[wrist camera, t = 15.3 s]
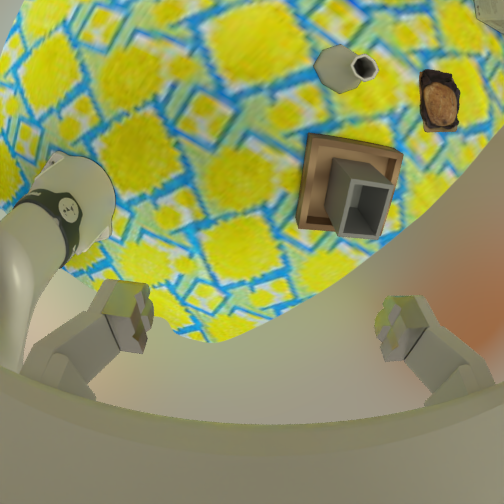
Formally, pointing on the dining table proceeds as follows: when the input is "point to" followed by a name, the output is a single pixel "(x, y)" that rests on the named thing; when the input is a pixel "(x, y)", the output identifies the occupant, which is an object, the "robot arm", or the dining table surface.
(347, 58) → the flask
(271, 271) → the dining table surface
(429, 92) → the bread roll
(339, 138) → the tray
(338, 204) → the small crate
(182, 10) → the dining table surface
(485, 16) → the supplement box
